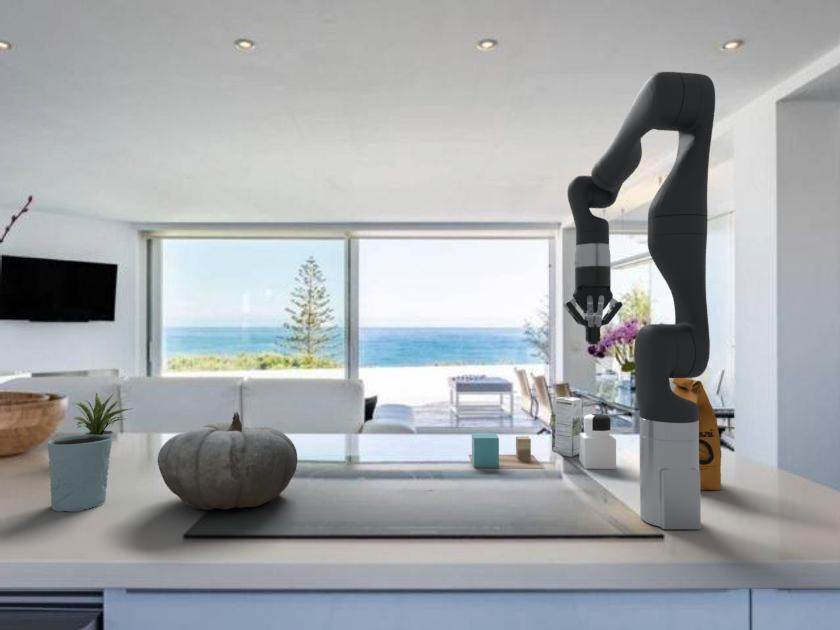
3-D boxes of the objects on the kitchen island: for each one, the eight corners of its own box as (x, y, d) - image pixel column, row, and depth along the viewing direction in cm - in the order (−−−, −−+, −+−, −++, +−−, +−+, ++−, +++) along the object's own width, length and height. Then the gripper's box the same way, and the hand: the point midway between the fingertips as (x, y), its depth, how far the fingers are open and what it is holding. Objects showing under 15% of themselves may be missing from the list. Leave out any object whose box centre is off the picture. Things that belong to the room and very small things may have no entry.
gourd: (145, 517, 88) (160, 406, 92) (155, 500, 111) (167, 411, 114) (305, 515, 97) (312, 414, 101) (283, 499, 120) (290, 417, 123)
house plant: (100, 467, 130) (101, 397, 131) (47, 465, 132) (48, 396, 133) (140, 454, 144) (141, 390, 145) (92, 452, 146) (93, 389, 147)
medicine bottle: (609, 462, 136) (608, 412, 136) (616, 469, 129) (616, 417, 129) (579, 461, 137) (578, 412, 137) (584, 469, 130) (584, 417, 130)
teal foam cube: (498, 467, 127) (498, 438, 127) (474, 467, 127) (474, 438, 127) (495, 461, 133) (495, 433, 133) (471, 461, 133) (471, 433, 133)
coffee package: (677, 491, 112) (676, 381, 113) (657, 474, 125) (656, 375, 125) (729, 492, 111) (728, 381, 112) (703, 476, 124) (702, 376, 124)
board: (545, 473, 126) (545, 446, 126) (473, 473, 126) (473, 446, 126) (532, 458, 140) (532, 434, 140) (468, 458, 140) (468, 434, 140)
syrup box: (561, 450, 149) (560, 396, 149) (582, 454, 145) (582, 397, 146) (551, 454, 145) (551, 398, 145) (573, 457, 141) (572, 400, 141)
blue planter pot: (37, 515, 97) (38, 445, 97) (58, 498, 107) (59, 435, 107) (102, 510, 100) (103, 442, 100) (117, 494, 110) (117, 432, 110)
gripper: (567, 264, 120) (567, 345, 120) (628, 264, 120) (629, 345, 120) (558, 267, 128) (558, 344, 127) (616, 267, 128) (616, 344, 127)
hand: (593, 344), depth 124 cm, fingers closed
